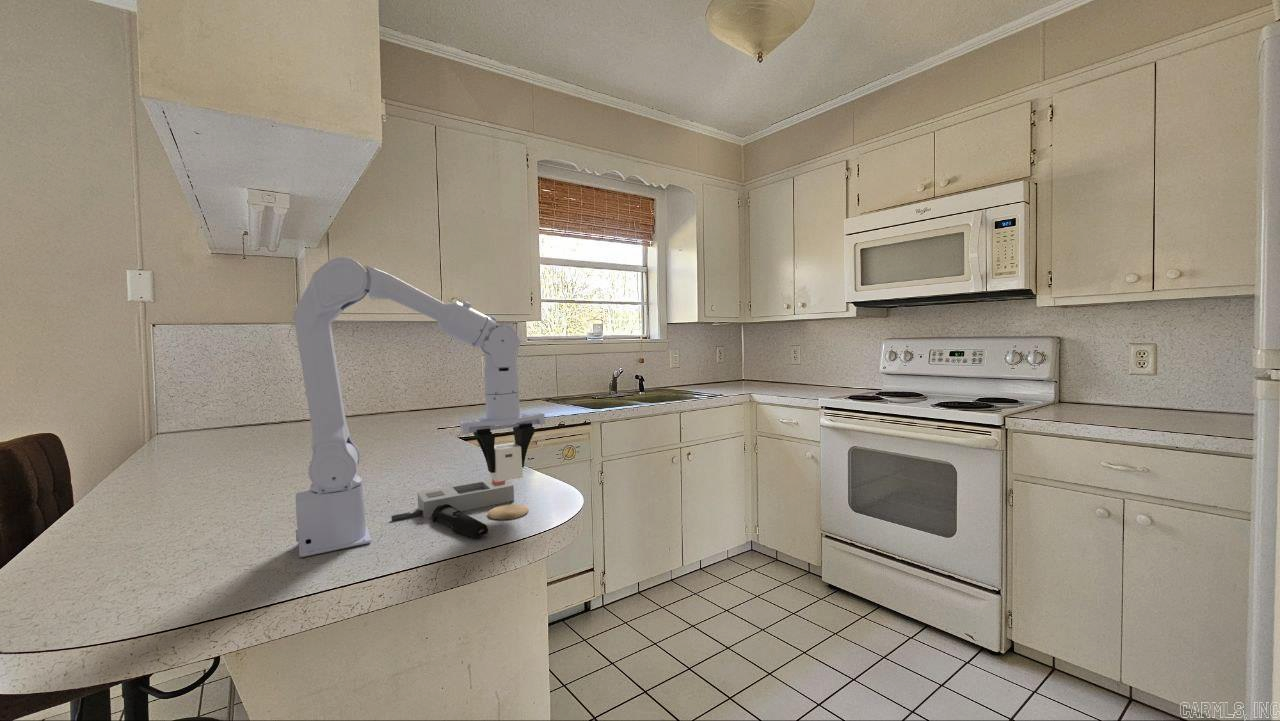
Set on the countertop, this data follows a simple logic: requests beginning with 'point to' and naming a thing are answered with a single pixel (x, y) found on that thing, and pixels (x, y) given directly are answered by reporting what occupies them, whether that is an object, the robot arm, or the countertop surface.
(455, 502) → the power strip
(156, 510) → the countertop surface
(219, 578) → the countertop surface
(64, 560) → the countertop surface
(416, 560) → the countertop surface
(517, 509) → the coaster
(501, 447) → the box
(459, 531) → the electric trimmer
